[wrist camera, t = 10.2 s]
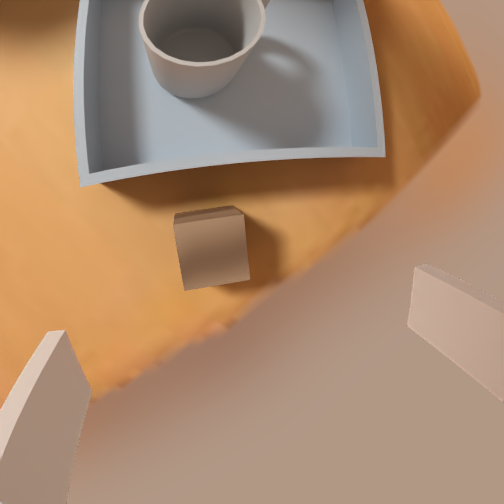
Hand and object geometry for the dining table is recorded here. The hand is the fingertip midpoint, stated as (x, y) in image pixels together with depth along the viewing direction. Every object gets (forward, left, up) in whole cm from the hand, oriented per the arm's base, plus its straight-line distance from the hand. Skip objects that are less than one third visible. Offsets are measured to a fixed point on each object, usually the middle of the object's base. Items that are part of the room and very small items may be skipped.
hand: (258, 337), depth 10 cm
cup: (-16, +1, -17) cm, 23 cm away
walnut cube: (+1, 0, -17) cm, 17 cm away
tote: (-15, +3, -17) cm, 23 cm away
